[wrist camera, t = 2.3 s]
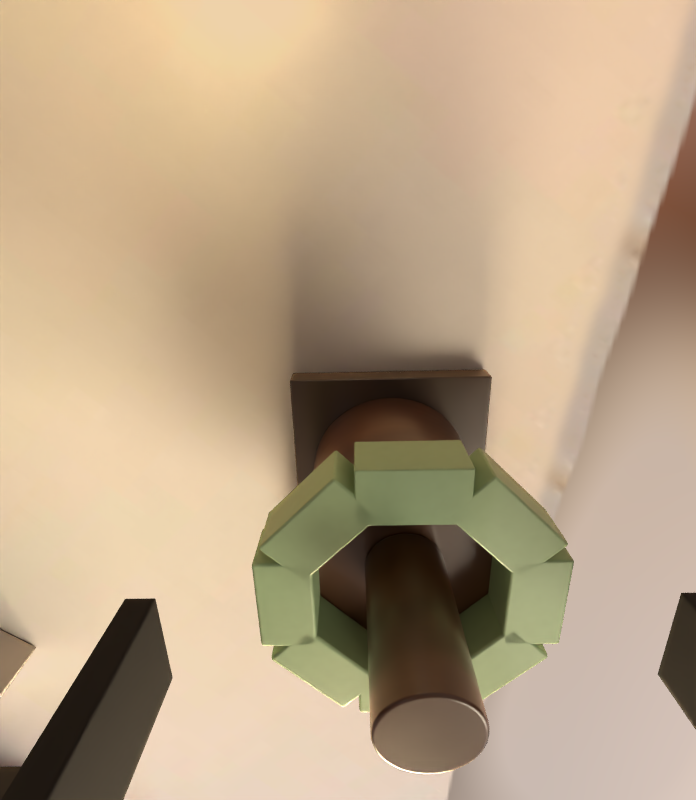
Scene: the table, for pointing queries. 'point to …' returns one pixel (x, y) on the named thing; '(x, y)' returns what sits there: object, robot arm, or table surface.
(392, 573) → the peg stand
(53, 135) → the table surface
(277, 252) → the table surface
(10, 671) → the icon cube
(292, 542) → the ring
